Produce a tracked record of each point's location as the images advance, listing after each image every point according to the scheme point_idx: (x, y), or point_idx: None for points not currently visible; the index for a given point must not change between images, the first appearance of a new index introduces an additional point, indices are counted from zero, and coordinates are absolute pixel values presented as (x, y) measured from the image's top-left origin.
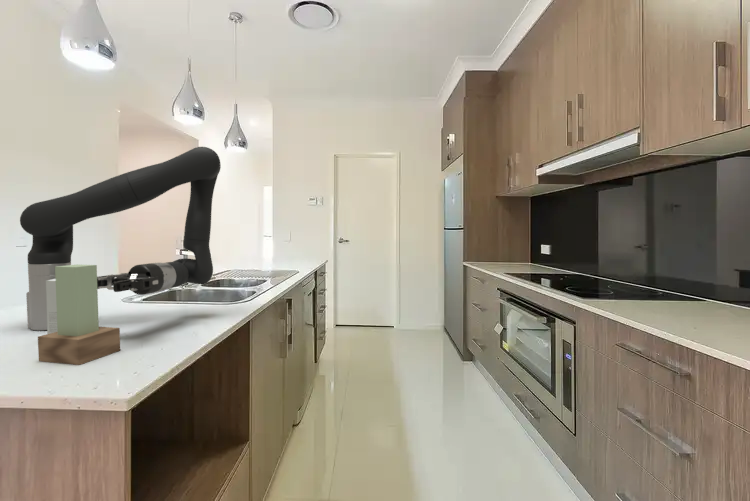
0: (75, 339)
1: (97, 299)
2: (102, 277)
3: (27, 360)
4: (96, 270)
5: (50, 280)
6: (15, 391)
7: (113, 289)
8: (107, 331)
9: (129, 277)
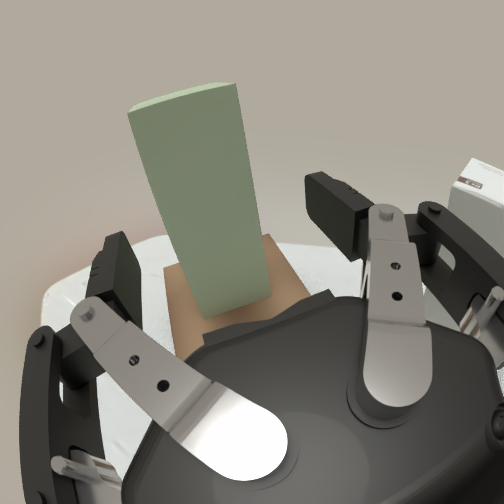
0: (171, 265)
1: (172, 243)
2: (403, 232)
3: (297, 264)
4: (134, 135)
5: (473, 161)
6: (158, 239)
7: (135, 256)
8: (171, 326)
9: (259, 388)
